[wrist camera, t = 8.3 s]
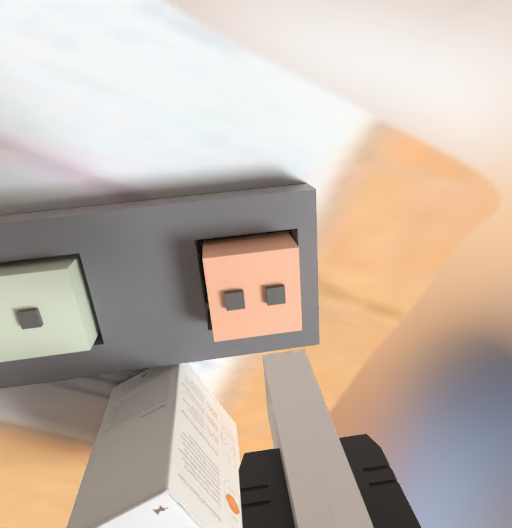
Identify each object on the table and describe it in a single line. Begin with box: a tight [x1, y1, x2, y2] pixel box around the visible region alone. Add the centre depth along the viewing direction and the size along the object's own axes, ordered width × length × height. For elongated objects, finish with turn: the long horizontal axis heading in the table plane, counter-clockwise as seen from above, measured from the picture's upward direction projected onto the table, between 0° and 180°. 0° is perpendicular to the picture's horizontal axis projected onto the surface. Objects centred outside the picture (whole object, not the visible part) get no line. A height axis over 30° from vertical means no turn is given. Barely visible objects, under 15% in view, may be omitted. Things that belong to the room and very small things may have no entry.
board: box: [0, 183, 319, 388], centre depth 23 cm, size 20×10×2 cm, turn 94°
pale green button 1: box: [0, 253, 100, 362], centre depth 22 cm, size 5×5×3 cm
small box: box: [67, 363, 243, 528], centre depth 23 cm, size 8×6×10 cm
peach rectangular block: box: [202, 231, 302, 342], centre depth 22 cm, size 5×5×3 cm
